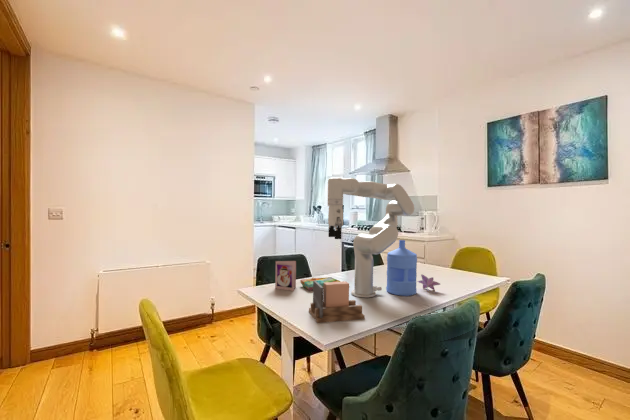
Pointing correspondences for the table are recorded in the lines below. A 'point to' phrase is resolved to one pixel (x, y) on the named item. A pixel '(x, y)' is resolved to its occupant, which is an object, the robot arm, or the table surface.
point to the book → (335, 294)
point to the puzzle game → (309, 282)
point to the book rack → (332, 308)
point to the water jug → (401, 271)
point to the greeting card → (285, 275)
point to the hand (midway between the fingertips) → (334, 237)
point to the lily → (428, 282)
